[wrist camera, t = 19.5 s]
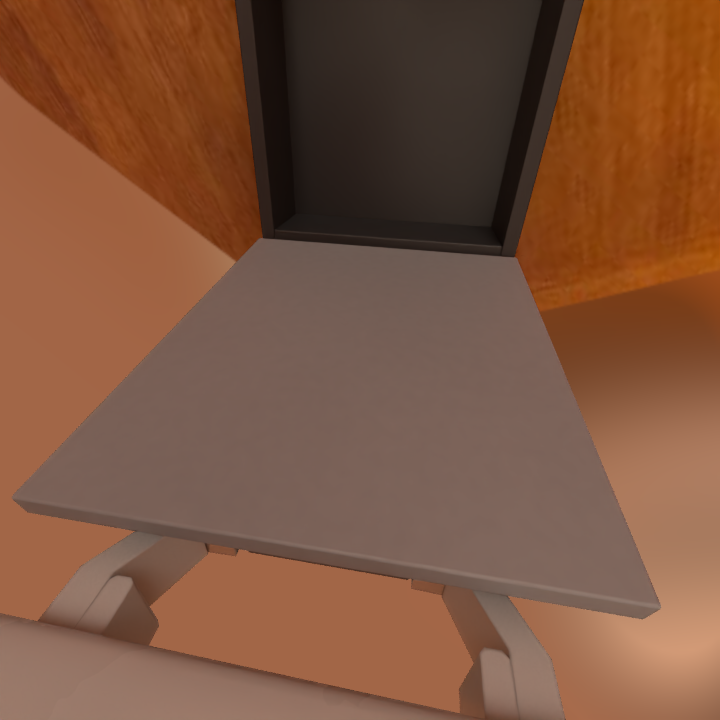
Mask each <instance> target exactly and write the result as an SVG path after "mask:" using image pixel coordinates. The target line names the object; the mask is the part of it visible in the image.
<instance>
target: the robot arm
mask: <svg viewBox="0 0 720 720" xmlns="http://www.w3.org/2000/svg"><path fill="white" fill-rule="evenodd" d="M238 550H239V549H236V548H230V547H224V546H218V545H213V544H207V543H201V542H195V541H190V540H184V539H178V538H172V537H167V536H161V535H155V534H149V533H144V532H138V531H135V532H133V533H132V534H130V535H129V536H127V537H125V538H124V539H122V540H121V541H119V542H118V543H116V544H114V545H113V546H111V547H110V548H108V549H107V550H105V551H103V552H102V553H100V554H99V555H97V556H96V557H94V558H93V559H91V560H89V561H88V562H86V563H85V564H83V565H82V566H81V567H80V568H79V569H78V570H77V572H76V573H75V574H74V576H73V577H72V578H71V579H70V581H69V582H68V583H67V585H66V586H65V587H64V588H63V589H62V591H61V592H60V593H59V595H58V596H57V597H56V598H55V600H54V601H53V602H52V603H51V605H50V606H49V607H48V609H47V610H46V611H45V612H44V614H43V615H42V616H41V617H40V619H39V620H38V621H34V620H29V619H24V618H20V617H15V616H11V615H6V614H1V613H0V720H566V719H565V716H564V711H563V707H562V702H561V698H560V694H559V690H558V685H557V681H556V676H555V672H554V668H553V663H552V659H551V658H550V656H549V655H548V653H547V652H546V651H545V649H544V648H543V646H542V645H541V643H540V642H539V640H538V639H537V638H536V636H535V635H534V633H533V632H532V630H531V629H530V628H529V626H528V625H527V623H526V622H525V620H524V619H523V618H522V616H521V615H520V613H519V612H518V610H517V609H516V607H515V606H514V605H513V603H512V602H511V600H510V599H509V598H508V596H506V595H500V594H494V593H489V592H483V591H477V590H471V589H466V588H460V587H454V586H448V585H443V584H437V583H431V582H425V581H420V580H414V579H412V586H411V588H412V589H415V590H420V591H426V592H430V593H434V594H439V595H442V598H443V601H444V603H445V604H446V607H447V609H448V611H449V613H450V615H451V617H452V619H453V621H454V623H455V625H456V627H457V629H458V631H459V633H460V635H461V638H462V640H463V642H464V644H465V646H466V648H467V650H468V652H469V654H470V656H471V658H472V660H473V662H474V664H473V666H472V667H471V669H470V671H469V673H468V674H467V676H466V678H465V679H464V682H463V683H462V685H461V687H460V688H459V698H460V713H455V712H450V711H446V710H441V709H436V708H432V707H427V706H423V705H418V704H414V703H409V702H404V701H400V700H395V699H391V698H386V697H381V696H377V695H372V694H368V693H363V692H359V691H354V690H350V689H345V688H340V687H336V686H331V685H326V684H322V683H318V682H313V681H308V680H304V679H299V678H294V677H290V676H286V675H281V674H276V673H272V672H267V671H263V670H258V669H253V668H249V667H244V666H240V665H235V664H231V663H226V662H221V661H216V660H212V659H208V658H203V657H198V656H193V655H189V654H185V653H180V652H176V651H171V650H166V649H162V648H157V647H153V646H149V644H150V642H151V640H152V638H153V636H154V634H155V632H156V630H157V628H158V627H159V624H158V620H157V618H156V616H155V615H154V613H153V611H152V610H151V608H150V607H149V606H150V605H151V604H153V603H154V602H155V601H156V600H157V599H158V598H159V597H160V596H162V595H163V594H164V593H165V592H166V591H167V590H168V589H169V588H171V587H172V586H173V585H174V584H175V583H176V582H177V581H178V580H179V579H180V578H182V577H183V576H184V575H185V574H186V573H187V572H188V571H190V570H191V569H192V568H193V567H194V566H195V565H196V564H197V563H198V562H199V561H201V560H202V559H203V558H204V557H205V556H206V555H207V554H208V552H212V553H218V554H225V555H232V556H236V554H237V552H238Z"/></svg>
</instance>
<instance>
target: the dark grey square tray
mask: <svg viewBox="0 0 720 720" xmlns="http://www.w3.org/2000/svg"><path fill="white" fill-rule="evenodd" d="M583 2H584V0H235V4H236V13H237V21H238V30H239V38H240V47H241V55H242V64H243V72H244V81H245V90H246V98H247V107H248V115H249V124H250V132H251V141H252V149H253V158H254V166H255V175H256V183H257V192H258V200H259V209H260V218H261V226H262V235H263V238H264V239H277V240H291V241H304V242H317V243H330V244H343V245H356V246H369V247H383V248H396V249H409V250H422V251H435V252H448V253H461V254H474V255H488V256H501V257H515V253H516V249H517V246H518V242H519V238H520V235H521V231H522V227H523V223H524V220H525V216H526V212H527V209H528V205H529V201H530V198H531V194H532V190H533V187H534V183H535V179H536V176H537V172H538V168H539V165H540V161H541V157H542V153H543V150H544V146H545V142H546V139H547V135H548V131H549V128H550V124H551V120H552V117H553V113H554V109H555V106H556V102H557V98H558V95H559V91H560V87H561V83H562V80H563V76H564V72H565V69H566V65H567V61H568V58H569V54H570V50H571V47H572V43H573V39H574V36H575V32H576V28H577V25H578V21H579V17H580V13H581V10H582V6H583Z"/></svg>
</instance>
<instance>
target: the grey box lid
mask: <svg viewBox="0 0 720 720" xmlns="http://www.w3.org/2000/svg"><path fill="white" fill-rule="evenodd" d="M12 499H13V500H14V501H15V502H16V503H17V504H19V505H20V506H21V507H22V508H23V509H24V510H26V511H27V512H29V513H35V514H40V515H46V516H52V517H58V518H64V519H69V520H75V521H81V522H86V523H92V524H98V525H104V526H110V527H115V528H121V529H127V530H132V531H138V532H144V533H149V534H155V535H161V536H167V537H172V538H178V539H184V540H190V541H195V542H201V543H207V544H213V545H218V546H224V547H230V548H236V549H242V550H247V551H249V552H251V553H257V554H262V555H268V556H274V557H279V558H285V559H291V560H297V561H303V562H308V563H314V564H320V565H325V566H331V567H337V568H343V569H348V570H354V571H360V572H366V573H371V574H377V575H383V576H388V577H394V578H400V579H406V580H408V579H414V580H420V581H425V582H431V583H437V584H443V585H448V586H454V587H460V588H466V589H471V590H477V591H483V592H489V593H494V594H500V595H506V596H512V597H517V598H523V599H529V600H535V601H541V602H546V603H552V604H558V605H563V606H569V607H575V608H581V609H587V610H592V611H598V612H604V613H609V614H616V615H621V616H627V617H632V618H639V619H644V618H646V617H648V616H650V615H651V614H653V613H655V612H656V611H658V610H659V609H660V608H661V605H660V602H659V600H658V597H657V595H656V593H655V590H654V588H653V585H652V583H651V581H650V578H649V576H648V574H647V571H646V569H645V566H644V564H643V561H642V559H641V557H640V554H639V552H638V549H637V547H636V544H635V542H634V540H633V537H632V535H631V532H630V530H629V528H628V525H627V523H626V520H625V518H624V515H623V513H622V511H621V508H620V506H619V503H618V501H617V499H616V496H615V494H614V491H613V489H612V487H611V484H610V482H609V480H608V477H607V475H606V472H605V470H604V467H603V465H602V463H601V460H600V458H599V455H598V453H597V450H596V448H595V446H594V443H593V441H592V438H591V436H590V433H589V431H588V429H587V426H586V424H585V422H584V419H583V417H582V414H581V412H580V409H579V407H578V405H577V402H576V400H575V398H574V395H573V393H572V390H571V388H570V385H569V383H568V381H567V378H566V376H565V373H564V371H563V368H562V366H561V364H560V361H559V359H558V356H557V354H556V352H555V349H554V347H553V344H552V342H551V340H550V337H549V335H548V332H547V330H546V328H545V325H544V323H543V320H542V318H541V315H540V313H539V311H538V308H537V306H536V303H535V301H534V298H533V296H532V294H531V291H530V289H529V286H528V284H527V282H526V279H525V277H524V274H523V272H522V270H521V267H520V265H519V262H518V260H517V258H514V257H501V256H488V255H474V254H461V253H448V252H435V251H422V250H409V249H396V248H383V247H369V246H356V245H343V244H330V243H317V242H304V241H291V240H277V239H264V238H259V239H258V240H257V241H256V242H255V243H254V244H253V245H252V247H251V248H250V249H249V250H248V251H247V252H246V253H245V254H244V255H243V256H242V257H241V258H240V259H239V260H238V261H237V262H236V263H235V264H234V265H233V266H232V267H231V268H230V269H229V271H228V272H227V273H226V274H225V275H224V276H223V277H222V278H221V279H220V280H219V281H218V282H217V283H216V284H215V285H214V286H213V287H212V288H211V289H210V290H209V291H208V292H207V293H206V294H205V295H204V297H203V298H202V299H201V300H200V301H199V302H198V303H197V304H196V305H195V306H194V307H193V308H192V309H191V310H190V311H189V312H188V313H187V314H186V315H185V317H183V318H182V319H181V321H180V322H179V323H178V324H177V325H176V326H175V327H174V328H173V329H172V330H171V331H170V332H169V333H168V334H167V335H166V336H165V337H164V338H163V339H162V340H161V341H160V343H158V344H157V346H156V347H155V348H154V349H153V350H152V351H151V352H150V353H149V354H148V355H147V356H146V357H145V358H144V359H143V360H142V361H141V362H140V363H139V364H138V365H137V366H136V367H135V368H134V369H133V371H132V372H131V373H130V374H129V375H128V376H127V377H126V378H125V379H124V380H123V381H122V382H121V383H120V384H119V385H118V386H117V387H116V388H115V389H114V390H113V391H112V393H111V394H109V396H108V397H107V398H106V399H105V400H104V401H103V402H102V403H101V404H100V405H99V406H98V407H97V408H96V409H95V410H94V411H93V412H92V413H91V414H90V415H89V416H88V417H87V418H86V420H85V421H84V422H83V423H82V424H81V425H80V426H79V427H78V428H77V429H76V430H75V431H74V432H73V433H72V434H71V435H70V436H69V437H68V438H67V439H66V440H65V442H64V443H62V445H61V446H60V447H59V448H58V449H57V450H56V451H55V452H54V453H53V454H52V455H51V456H50V457H49V458H48V459H47V460H46V461H45V462H44V463H43V464H42V465H41V466H40V468H39V469H38V470H37V471H36V472H35V473H34V474H33V475H32V476H31V477H30V478H29V479H28V480H27V481H26V482H25V483H24V484H23V485H22V486H21V487H20V488H19V489H18V490H17V491H16V492H15V494H14V495H13V496H12Z"/></svg>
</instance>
